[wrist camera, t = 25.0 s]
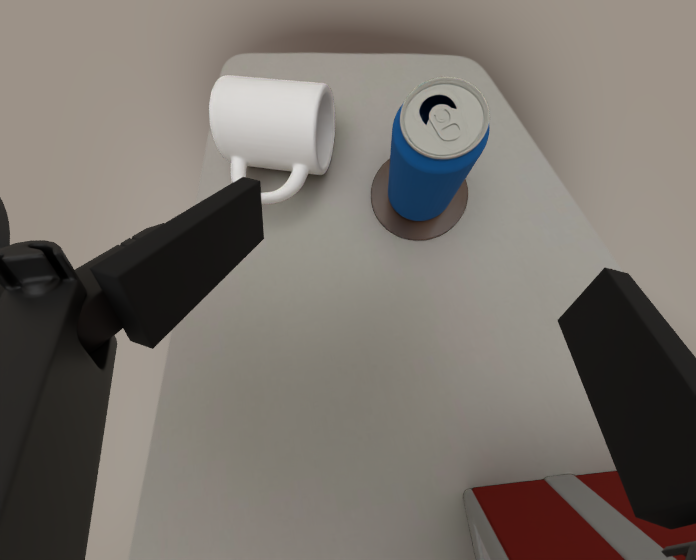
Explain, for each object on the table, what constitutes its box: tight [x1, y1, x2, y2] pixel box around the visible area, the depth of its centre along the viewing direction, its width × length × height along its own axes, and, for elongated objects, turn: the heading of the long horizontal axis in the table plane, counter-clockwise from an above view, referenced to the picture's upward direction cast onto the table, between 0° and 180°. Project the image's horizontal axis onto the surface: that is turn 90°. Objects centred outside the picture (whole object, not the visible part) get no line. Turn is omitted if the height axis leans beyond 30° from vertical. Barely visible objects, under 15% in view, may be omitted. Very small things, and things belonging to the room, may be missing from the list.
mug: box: [209, 75, 335, 204], centre depth 29 cm, size 12×10×8 cm
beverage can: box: [388, 77, 490, 221], centre depth 24 cm, size 6×6×12 cm
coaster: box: [371, 159, 468, 240], centre depth 31 cm, size 10×10×1 cm
